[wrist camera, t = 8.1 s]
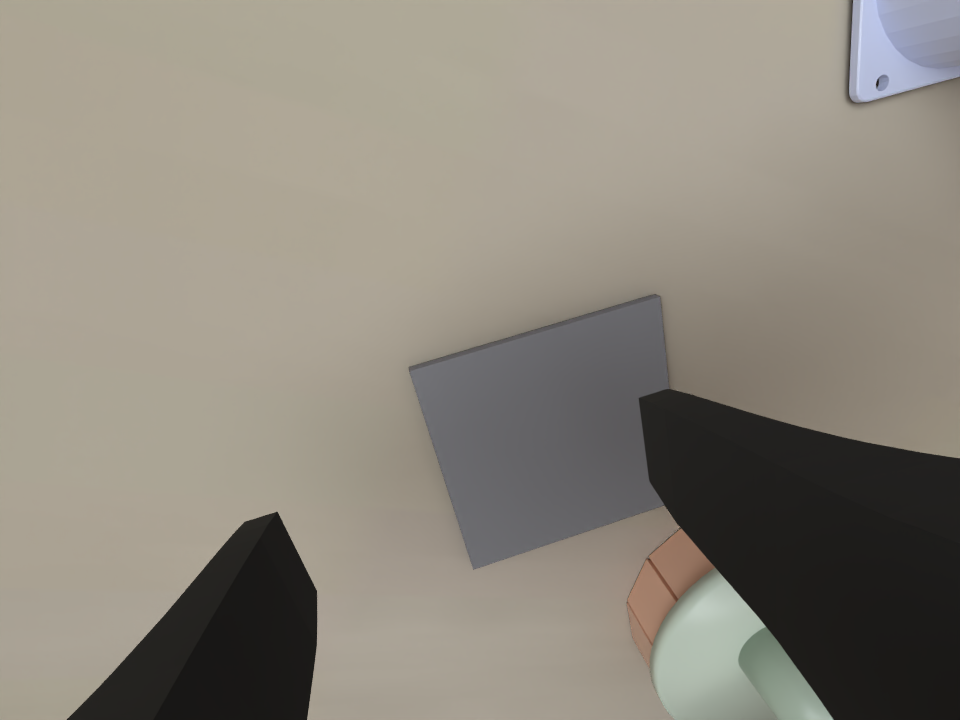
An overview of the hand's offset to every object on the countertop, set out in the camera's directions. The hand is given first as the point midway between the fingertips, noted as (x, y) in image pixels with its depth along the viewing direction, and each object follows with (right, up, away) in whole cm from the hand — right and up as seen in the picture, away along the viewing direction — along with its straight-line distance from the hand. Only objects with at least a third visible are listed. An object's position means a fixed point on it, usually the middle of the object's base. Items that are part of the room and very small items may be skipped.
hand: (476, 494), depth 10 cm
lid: (+13, -10, +14) cm, 22 cm away
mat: (+3, -1, +12) cm, 12 cm away
